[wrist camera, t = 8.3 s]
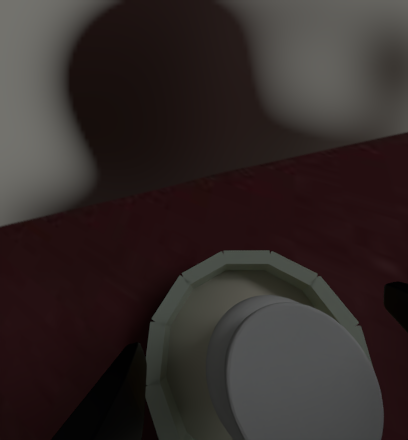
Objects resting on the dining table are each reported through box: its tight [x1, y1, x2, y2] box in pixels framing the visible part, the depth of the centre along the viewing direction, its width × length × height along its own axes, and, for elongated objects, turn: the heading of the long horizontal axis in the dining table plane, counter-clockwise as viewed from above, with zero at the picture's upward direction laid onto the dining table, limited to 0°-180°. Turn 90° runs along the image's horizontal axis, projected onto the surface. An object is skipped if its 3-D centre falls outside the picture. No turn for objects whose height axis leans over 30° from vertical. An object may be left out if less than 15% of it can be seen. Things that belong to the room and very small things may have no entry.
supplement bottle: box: [206, 295, 384, 440], centre depth 10 cm, size 5×5×10 cm
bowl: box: [145, 250, 373, 440], centre depth 14 cm, size 13×13×2 cm
